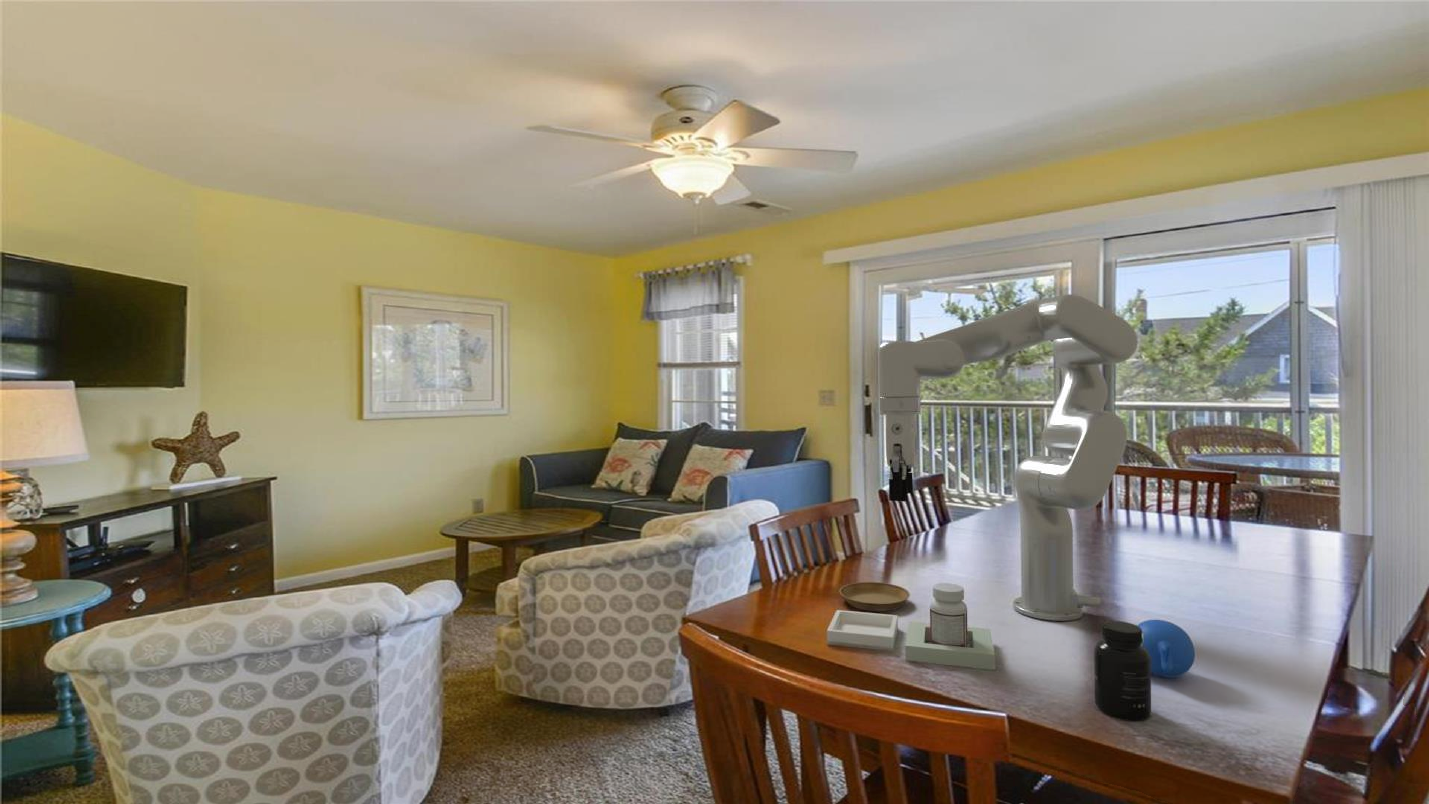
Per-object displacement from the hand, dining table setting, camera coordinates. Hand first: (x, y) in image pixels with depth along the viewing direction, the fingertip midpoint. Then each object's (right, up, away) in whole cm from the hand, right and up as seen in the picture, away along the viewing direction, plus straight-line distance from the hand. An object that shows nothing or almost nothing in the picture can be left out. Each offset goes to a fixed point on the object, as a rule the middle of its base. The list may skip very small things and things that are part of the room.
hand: (901, 496), depth 124 cm
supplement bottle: (+22, -26, -32) cm, 47 cm away
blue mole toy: (+34, -25, -20) cm, 47 cm away
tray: (-8, -26, -2) cm, 27 cm away
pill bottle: (+5, -26, -10) cm, 28 cm away
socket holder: (+5, -26, -10) cm, 28 cm away
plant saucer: (-1, -26, +17) cm, 31 cm away
